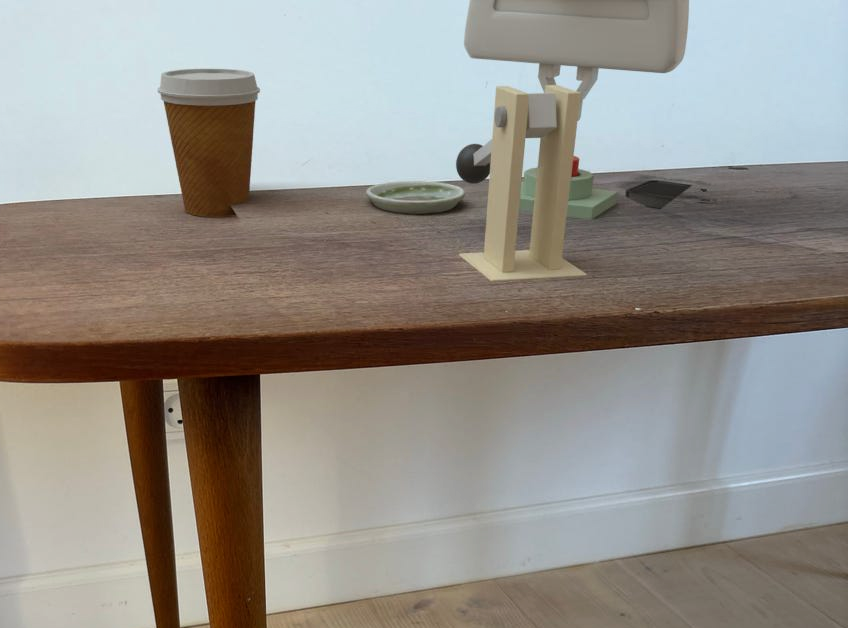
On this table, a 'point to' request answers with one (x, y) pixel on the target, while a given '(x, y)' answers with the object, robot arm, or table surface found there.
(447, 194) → the saucer
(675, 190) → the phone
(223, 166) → the disposable coffee cup
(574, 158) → the button
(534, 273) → the lever bracket
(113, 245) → the table surface
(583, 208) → the control block
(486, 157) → the control lever
